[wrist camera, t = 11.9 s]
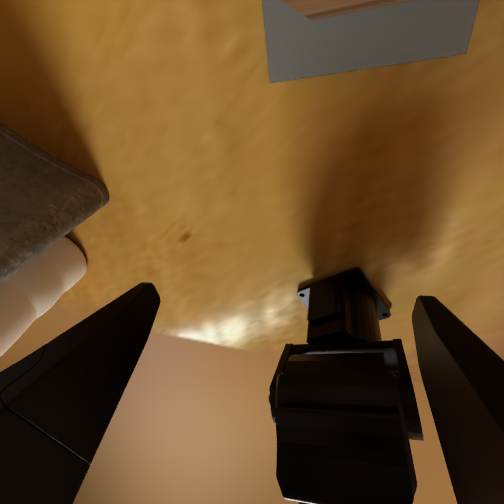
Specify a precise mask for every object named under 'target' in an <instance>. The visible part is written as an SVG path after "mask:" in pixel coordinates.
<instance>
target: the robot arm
mask: <svg viewBox="0 0 504 504" xmlns="http://www.w3.org/2000/svg"><path fill="white" fill-rule="evenodd" d="M355 273H359V274H357V275H356V274H355ZM301 293H303V294H301ZM297 297H298V298H299V299H300V300H301V301H302V302H303V304H304V305H305V306H306V307H307V308H308V314H307V320H308V330H307V343H308V344H297V345H293V344H286V345H285V348H284V350H283V353H282V355H281V358H280V361H279V363H278V366H277V369H276V371H275V374H274V377H273V379H272V382H271V385H270V395H269V403H270V405H271V413H272V418H273V421H274V424H275V426H276V433H277V468H276V477H277V480H278V483H279V486H280V489H281V492H282V495H283V497H284V498H285V499H286V500H291V501H297V502H298V503H299V504H412V503H413V499H414V494H415V492H416V488H417V480H416V475H415V469H414V464H413V459H412V454H411V449H410V443H409V439H412V440H423V434H422V428H421V422H420V417H419V412H418V407H417V402H416V398H415V393H414V389H413V384H412V380H411V376H410V372H409V368H408V365H407V361H406V357H405V353H404V349H403V345H402V341H401V339H393V340H391V341H382V339H381V333H380V327H379V321H378V320H382V319H386V318H389V317H390V316H391V313H390V310H389V308H388V307H387V305H386V304H385V303H384V301H383V300H382V298H381V297H380V295H379V294H378V292H377V291H376V289H375V288H374V287H373V285H372V284H371V282H370V281H369V279H368V278H367V276H366V275H365V274H364V272H363V271H362V270H361V269H360V268H354V269H351V270H348V271H346V272H343V273H340V274H338V275H335V276H332V277H330V278H327V279H324V280H322V281H319V282H316V283H314V284H311V285H308V286H306V287H303V288H300V289H298V291H297ZM159 305H160V296H159V294H158V292H157V290H156V288H155V286H154V285H153V284H152V283H147V282H142V283H140V284H138V285H137V286H135V287H134V288H132V289H130V290H129V291H127V292H126V293H124V294H123V295H121V296H120V297H118V298H116V299H115V300H113V301H112V302H110V303H109V304H107V305H106V306H104V307H103V308H101V309H99V310H98V311H96V312H95V313H93V314H92V315H90V316H89V317H87V318H86V319H84V320H82V321H81V322H79V323H78V324H76V325H75V326H73V327H72V328H70V329H69V330H67V331H66V332H64V333H62V334H61V335H59V336H58V337H56V338H55V339H53V340H52V341H50V342H49V343H47V344H45V345H44V346H42V347H41V348H39V349H37V350H36V351H34V352H33V353H31V354H30V355H28V356H27V357H25V358H23V359H22V360H20V361H18V362H17V363H15V364H13V365H12V366H10V367H8V368H7V369H5V370H3V371H1V372H0V504H73V502H74V500H75V497H76V495H77V493H78V491H79V489H80V486H81V484H82V482H83V480H84V478H85V476H86V473H87V471H88V469H89V467H90V464H91V462H92V460H93V458H94V456H95V453H96V451H97V449H98V447H99V445H100V442H101V440H102V438H103V436H104V434H105V432H106V429H107V427H108V425H109V423H110V421H111V418H112V416H113V414H114V412H115V410H116V408H117V405H118V403H119V401H120V399H121V396H122V394H123V392H124V390H125V388H126V386H127V383H128V381H129V379H130V377H131V375H132V373H133V371H134V368H135V366H136V364H137V362H138V360H139V357H140V355H141V353H142V351H143V349H144V347H145V344H146V342H147V340H148V337H149V334H150V332H151V329H152V326H153V323H154V320H155V317H156V314H157V311H158V308H159ZM412 323H413V330H414V336H415V343H416V350H417V356H418V362H419V368H420V372H421V376H422V380H423V384H424V387H425V391H426V394H427V398H428V401H429V405H430V408H431V412H432V415H433V419H434V422H435V426H436V430H437V433H438V436H439V440H440V443H441V447H442V451H443V454H444V457H445V461H446V465H447V468H448V472H449V476H450V479H451V483H452V486H453V490H454V493H455V496H456V500H457V504H504V360H503V359H501V358H500V357H499V356H498V355H497V354H496V353H495V352H494V351H493V350H492V349H491V348H490V347H489V346H487V345H486V344H485V343H484V342H483V341H482V340H481V339H480V338H479V337H478V336H477V335H476V334H475V333H473V332H472V331H471V330H470V329H469V328H468V327H467V326H466V325H465V324H464V323H463V322H462V321H460V320H459V319H458V318H457V317H456V316H455V315H454V314H453V313H452V312H451V311H450V310H449V309H448V308H446V307H445V306H444V305H443V304H442V303H441V302H440V301H439V300H438V299H437V298H435V297H434V296H418V297H417V299H416V303H415V306H414V310H413V313H412Z"/></svg>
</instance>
